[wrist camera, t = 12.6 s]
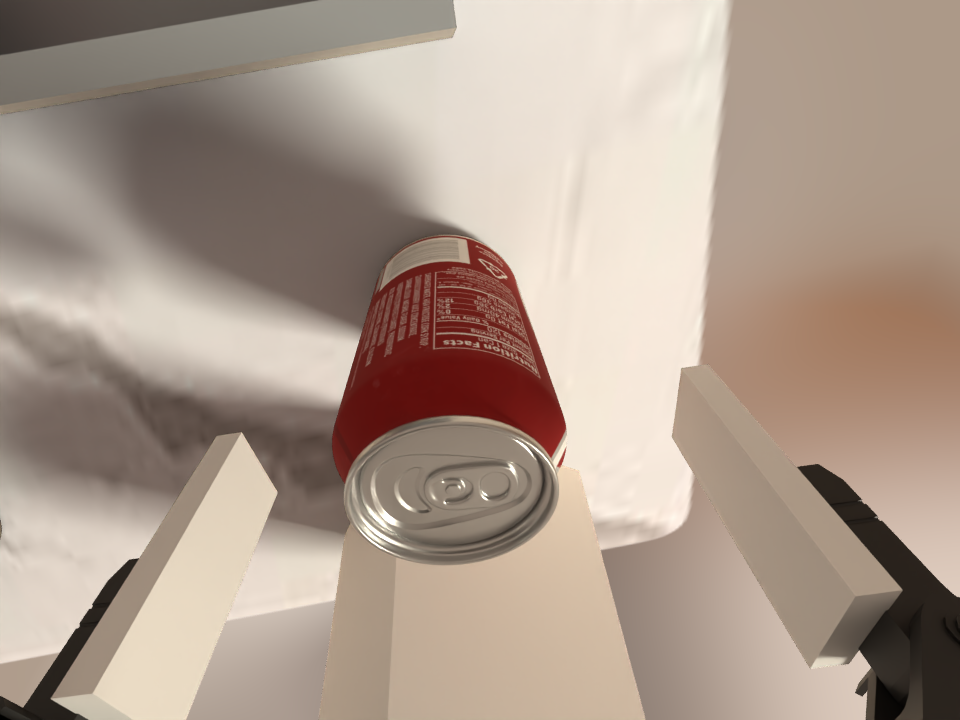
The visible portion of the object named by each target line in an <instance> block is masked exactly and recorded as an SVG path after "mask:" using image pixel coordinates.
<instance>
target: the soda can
mask: <svg viewBox="0 0 960 720" xmlns="http://www.w3.org/2000/svg"><path fill="white" fill-rule="evenodd" d="M566 445H567V431H566V424H565V420H564V416H563V413H562V410H561V407H560V404H559V401H558V399H557V396H556V393H555V390H554V387H553V384H552V381H551V379H550V376H549V373H548V370H547V367H546V364H545V362H544V359H543V356H542V353H541V350H540V347H539V344H538V342H537V339H536V336H535V333H534V330H533V327H532V324H531V322H530V319H529V316H528V313H527V310H526V307H525V304H524V302H523V299H522V296H521V293H520V290H519V287H518V284H517V282H516V279H515V277H514V274H513V273H512V271H511V269H510V267H509V266H508V264H507V263H506V262H505V261H504V259H503V258H502V257H501V256H500V255H499V254H498V253H496V252H495V251H494V250H493V249H491V248H490V247H488V246H487V245H485V244H483V243H481V242H479V241H477V240H474V239H471V238H468V237H464V236H458V235H434V236H429V237H425V238H422V239H419V240H416V241H414V242H412V243H410V244H408V245H406V246H405V247H403V248H402V249H400V250H399V251H398V252H397V253H395V254H394V255H393V256H392V257H391V258H390V260H389V261H388V262H387V263H386V265H385V266H384V267H383V269H382V271H381V273H380V275H379V277H378V280H377V283H376V286H375V289H374V293H373V296H372V300H371V303H370V306H369V310H368V313H367V317H366V320H365V323H364V327H363V330H362V334H361V337H360V340H359V344H358V347H357V351H356V354H355V357H354V361H353V364H352V367H351V371H350V374H349V378H348V381H347V384H346V388H345V391H344V395H343V398H342V401H341V405H340V408H339V412H338V415H337V418H336V422H335V425H334V430H333V436H332V450H333V457H334V461H335V465H336V468H337V470H338V472H339V475H340V477H341V478H342V480H343V482H344V484H345V488H344V507H345V511H346V514H347V517H348V519H349V521H350V523H351V524H352V526H353V527H354V529H355V530H356V531H357V533H358V534H359V535H360V536H361V537H362V538H364V539H365V540H366V541H367V542H368V543H370V544H371V545H373V546H374V547H376V548H377V549H379V550H381V551H383V552H385V553H387V554H389V555H392V556H394V557H397V558H400V559H403V560H407V561H411V562H415V563H421V564H428V565H463V564H471V563H476V562H481V561H485V560H489V559H492V558H495V557H498V556H501V555H503V554H506V553H508V552H510V551H512V550H514V549H516V548H518V547H520V546H521V545H523V544H525V543H526V542H528V541H529V540H530V539H532V538H533V537H534V536H535V535H536V534H538V533H539V532H540V531H541V530H542V529H543V528H544V526H545V525H546V524H547V523H548V521H549V520H550V518H551V517H552V515H553V513H554V511H555V509H556V506H557V502H558V498H559V481H558V476H557V473H558V471H559V469H560V467H561V465H562V462H563V459H564V456H565V452H566Z"/></svg>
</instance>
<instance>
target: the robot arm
mask: <svg viewBox="0 0 960 720" xmlns="http://www.w3.org/2000/svg"><path fill="white" fill-rule="evenodd" d="M672 438H673V440H674V441H675V443H676V445H677V446H678V448H679V450H680V451H681V453H682V455H683V456H684V458H685V460H686V461H687V463H688V465H689V467H690V468H691V470H692V472H693V473H694V475H695V477H696V478H697V480H698V481H699V483H700V485H701V487H702V488H703V490H704V492H705V493H706V495H707V497H708V498H709V500H710V502H711V503H712V505H713V507H714V508H715V510H716V512H717V513H718V515H719V517H720V519H721V520H722V522H723V523H724V525H725V527H726V528H727V530H728V531H729V534H730V535H731V537H732V539H733V540H734V542H735V543H736V545H737V547H738V549H739V550H740V552H741V554H742V555H743V557H744V559H745V560H746V562H747V564H748V565H749V567H750V569H751V570H752V572H753V574H754V576H755V577H756V579H757V581H758V582H759V584H760V586H761V587H762V589H763V590H764V592H765V594H766V596H767V597H768V599H769V601H770V602H771V604H772V606H773V607H774V609H775V611H776V612H777V614H778V616H779V617H780V619H781V621H782V622H783V624H784V626H785V627H786V629H787V631H788V632H789V634H790V636H791V638H792V639H793V641H794V643H795V644H796V646H797V648H798V649H799V651H800V653H801V654H802V656H803V658H804V659H805V661H806V663H807V664H808V666H809V668H810V669H811V668H819V667H828V666H835V665H844V664H849V663H850V662H851V660H852V659H853V658H854V656H855V655H856V653H857V652H858V651H859V650H860V652H861V653H862V655H863V656H864V657H865V659H866V660H867V662H868V663H869V665H870V666H871V667H872V668H871V669H870V670H869V671H868V672H867V674H866V675H865V676H864V678H863V679H862V680H861V681H860V682H859V684H858V687H857V689H856V692H855V693H857V694H858V695H861V696H863V695H864V694H865V693H866V692H867V708H866V720H960V597H956V596H955V595H954V594H952V593H951V592H950V591H949V590H948V589H947V588H946V587H945V586H944V585H943V584H942V583H940V581H939V580H938V579H937V578H936V577H935V576H934V575H933V574H932V573H931V572H930V571H929V570H928V569H927V568H926V567H925V566H924V565H923V564H922V562H921V561H920V560H919V559H918V558H917V557H916V556H915V555H914V554H913V553H912V552H911V551H910V550H909V549H908V548H907V547H906V546H905V545H904V543H903V542H902V541H901V540H900V539H899V538H898V537H897V536H896V535H895V534H894V533H893V532H892V531H891V530H890V529H889V528H888V527H887V526H886V524H885V523H884V522H883V521H879V520H878V516H877V515H876V514H875V513H874V512H873V511H872V510H871V509H870V508H869V507H868V505H867V504H863V502H862V499H861V498H860V497H859V496H858V495H857V494H856V493H855V492H854V491H853V490H852V489H851V488H850V486H849V485H848V484H847V483H846V482H845V481H844V480H843V479H841V478H839V477H838V476H836V475H835V474H833V473H832V472H830V471H828V470H827V469H825V468H823V467H822V466H820V465H819V464H815V465H807V466H800V467H796V466H795V465H794V463H793V462H792V461H791V460H790V459H789V458H788V456H787V455H786V454H785V453H784V452H783V451H782V449H781V448H780V447H779V446H778V445H777V444H776V443H775V441H774V440H773V439H772V438H771V437H770V436H769V434H768V433H767V432H766V431H765V430H764V429H763V428H762V426H761V425H760V424H759V423H758V422H757V420H756V419H755V418H754V417H753V416H752V415H751V414H750V412H749V411H748V410H747V409H746V408H745V407H744V405H743V404H742V403H741V402H740V401H739V400H738V398H736V396H735V395H734V394H733V393H732V392H731V390H730V389H729V388H728V387H727V386H726V385H725V383H724V382H723V381H722V380H721V379H720V378H719V377H718V375H717V374H716V373H715V372H714V371H713V370H712V368H711V367H710V366H709V365H708V364H707V365H700V366H693V367H686V368H682V369H681V376H680V383H679V390H678V397H677V404H676V412H675V419H674V426H673V433H672ZM277 493H278V492H277V490H276V489H275V487H274V485H273V484H272V482H271V480H270V479H269V477H268V475H267V474H266V472H265V470H264V469H263V467H262V465H261V464H260V462H259V460H258V459H257V457H256V455H255V454H254V452H253V450H252V449H251V447H250V445H249V444H248V442H247V440H246V439H245V437H244V435H243V434H242V432H239V433H233V434H226V435H219V436H216V438H215V439H214V441H213V443H212V444H211V446H210V447H209V449H208V451H207V452H206V454H205V455H204V457H203V458H202V460H201V462H200V463H199V465H198V466H197V468H196V470H195V471H194V473H193V474H192V476H191V477H190V479H189V481H188V482H187V484H186V485H185V487H184V489H183V490H182V492H181V493H180V495H179V496H178V498H177V500H176V501H175V503H174V504H173V506H172V508H171V509H170V511H169V512H168V514H167V515H166V517H165V519H164V520H163V522H162V523H161V525H160V527H159V528H158V530H157V531H156V533H155V534H154V536H153V538H152V539H151V541H150V542H149V544H148V546H147V547H146V549H145V550H144V552H143V553H142V555H141V557H140V558H138V559H131V560H128V561H127V562H126V563H125V564H124V565H123V566H122V567H121V568H120V569H119V570H118V571H117V572H116V573H115V574H114V575H113V576H112V577H111V578H110V579H109V580H108V581H107V583H106V584H105V586H104V587H103V589H102V590H101V592H100V593H99V595H98V596H97V598H96V599H95V601H94V602H93V604H92V605H93V607H92V609H89V610H88V611H87V613H86V615H85V616H84V618H83V619H82V621H81V622H80V627H79V628H78V629H76V630H75V631H74V633H73V634H72V636H71V637H70V639H69V640H68V642H67V643H66V645H65V646H64V648H63V649H62V651H61V652H60V654H59V655H58V657H57V658H56V660H55V661H54V663H53V664H52V666H51V667H50V669H49V670H48V672H47V673H46V675H45V676H44V678H43V679H42V681H41V682H40V684H39V685H38V687H37V688H36V690H35V691H34V693H33V694H32V696H31V697H30V699H29V700H28V702H27V703H26V704H25V706H24V707H23V708H22V707H20V706H18V705H17V704H15V703H13V702H11V701H9V700H7V699H5V698H3V697H1V696H0V720H186V718H187V715H188V713H189V711H190V708H191V706H192V703H193V701H194V698H195V696H196V693H197V691H198V688H199V686H200V683H201V681H202V678H203V676H204V673H205V671H206V669H207V666H208V664H209V661H210V658H211V656H212V654H213V651H214V649H215V646H216V644H217V641H218V639H219V636H220V634H221V631H222V629H223V627H224V624H225V622H226V619H227V617H228V614H229V612H230V609H231V607H232V604H233V602H234V599H235V597H236V594H237V592H238V590H239V587H240V585H241V582H242V580H243V577H244V575H245V572H246V570H247V567H248V565H249V562H250V560H251V557H252V555H253V552H254V550H255V548H256V545H257V543H258V540H259V538H260V535H261V533H262V530H263V528H264V525H265V523H266V520H267V518H268V515H269V513H270V510H271V508H272V506H273V503H274V501H275V498H276V496H277ZM1 533H2V526H1V520H0V538H1ZM867 690H868V691H867Z"/></svg>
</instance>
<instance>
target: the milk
mask: <svg viewBox="0 0 960 720" xmlns="http://www.w3.org/2000/svg"><path fill="white" fill-rule="evenodd" d="M557 476H558V481H559V498H558V502H557V506H556V509H555V511H554V513H553V515H552V517H551V518H550V520H549V521H548V523H547V524H546V525H545V526H544V528H543V529H542V530H541V531H540V532H539V533H538V534H536V535H535V536H534V537H533V538H532V539H530V540H529V541H528V542H526V543H525V544H523V545H521V546H520V547H518V548H516V549H514V550H512V551H510V552H508V553H506V554H503V555H501V556H498V557H495V558H492V559H489V560H485V561H481V562H476V563H471V564H463V565H428V564H421V563H415V562H411V561H407V560H403V559H400V558H397V557H394V556H392V555H389V554H387V553H385V552H383V551H381V550H379V549H377V548H376V547H374V546H373V545H371V544H370V543H368V542H367V541H366V540H365V539H364V538H362V537H361V536H360V535H359V534H358V533H357V531H356V530H355V529H354V527H353V526H352V524H350V526H349V528H348V530H347V531H346V533H345V537H344V544H343V551H342V558H341V565H340V572H339V579H338V586H337V593H336V600H335V607H334V614H333V621H332V628H331V636H330V642H329V649H328V657H327V663H326V670H325V677H324V684H323V691H322V698H321V705H320V712H319V719H318V720H646V719H645V716H644V712H643V708H642V705H641V700H640V697H639V693H638V689H637V686H636V682H635V678H634V675H633V671H632V667H631V663H630V660H629V656H628V652H627V648H626V645H625V641H624V637H623V633H622V630H621V626H620V622H619V618H618V614H617V611H616V607H615V603H614V600H613V596H612V592H611V589H610V585H609V581H608V577H607V574H606V570H605V566H604V562H603V558H602V555H601V551H600V547H599V543H598V540H597V536H596V532H595V529H594V525H593V521H592V517H591V514H590V510H589V506H588V502H587V499H586V495H585V491H584V487H583V484H582V480H581V476H580V472H579V470H575V469H572V468H569V467H565V466H562V465H561V467H560V469H559V471H558V473H557Z"/></svg>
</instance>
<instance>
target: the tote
mask: <svg viewBox="0 0 960 720" xmlns="http://www.w3.org/2000/svg"><path fill="white" fill-rule="evenodd" d="M456 28H457V26H456V19H455V11H454V4H453V0H0V115H1V114H7V113H13V112H19V111H24V110H30V109H36V108H42V107H48V106H54V105H60V104H65V103H71V102H77V101H83V100H89V99H95V98H101V97H106V96H112V95H118V94H124V93H130V92H136V91H142V90H147V89H153V88H159V87H165V86H171V85H177V84H183V83H188V82H194V81H200V80H206V79H212V78H218V77H224V76H229V75H235V74H241V73H247V72H253V71H259V70H265V69H270V68H276V67H282V66H288V65H294V64H300V63H306V62H311V61H317V60H323V59H329V58H335V57H341V56H347V55H352V54H358V53H364V52H370V51H376V50H382V49H388V48H393V47H399V46H405V45H411V44H417V43H423V42H429V41H434V40H440V39H446V38H452V37H453V35H454V33H455V30H456Z"/></svg>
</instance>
